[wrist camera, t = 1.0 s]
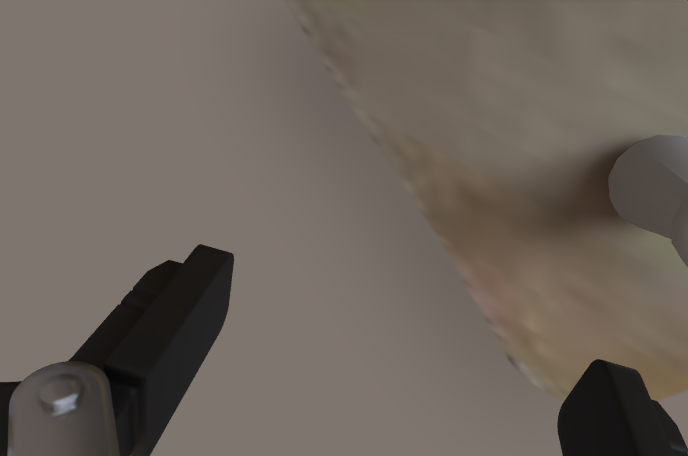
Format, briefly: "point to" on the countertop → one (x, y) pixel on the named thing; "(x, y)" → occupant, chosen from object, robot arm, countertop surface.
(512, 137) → the countertop surface
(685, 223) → the salt shaker
